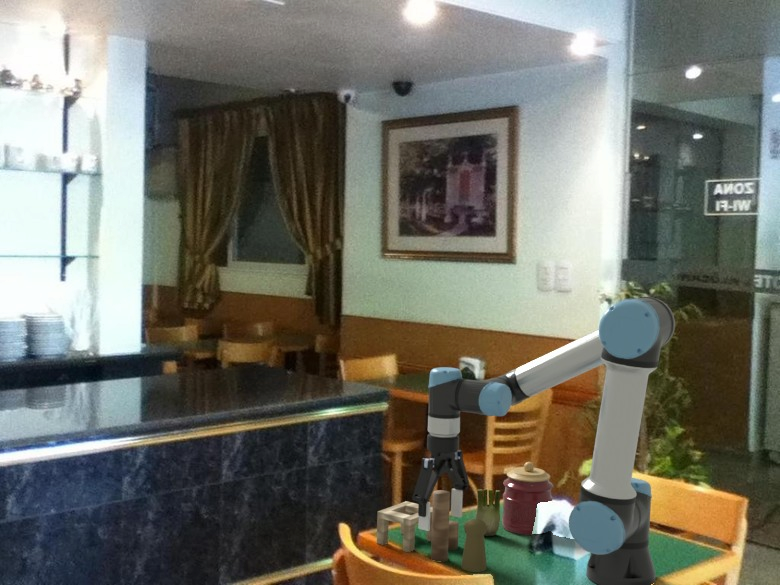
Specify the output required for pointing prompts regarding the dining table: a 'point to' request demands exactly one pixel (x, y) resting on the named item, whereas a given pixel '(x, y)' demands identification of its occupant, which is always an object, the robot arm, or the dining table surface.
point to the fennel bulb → (489, 510)
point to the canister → (524, 497)
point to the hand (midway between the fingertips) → (440, 522)
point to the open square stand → (405, 518)
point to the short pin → (453, 535)
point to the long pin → (440, 525)
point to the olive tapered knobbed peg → (474, 546)
